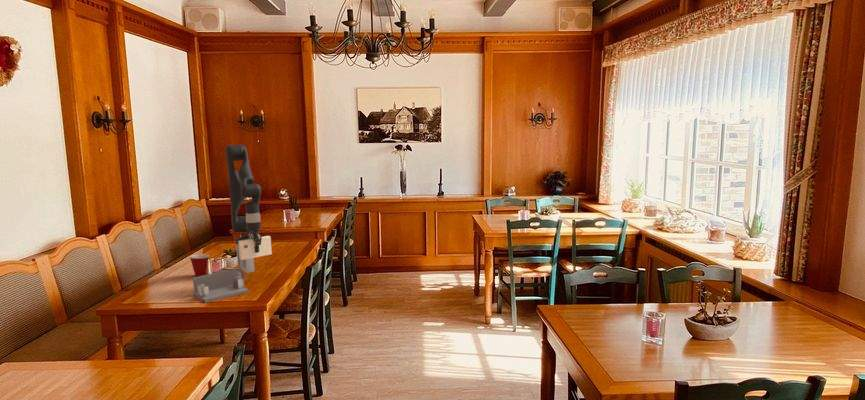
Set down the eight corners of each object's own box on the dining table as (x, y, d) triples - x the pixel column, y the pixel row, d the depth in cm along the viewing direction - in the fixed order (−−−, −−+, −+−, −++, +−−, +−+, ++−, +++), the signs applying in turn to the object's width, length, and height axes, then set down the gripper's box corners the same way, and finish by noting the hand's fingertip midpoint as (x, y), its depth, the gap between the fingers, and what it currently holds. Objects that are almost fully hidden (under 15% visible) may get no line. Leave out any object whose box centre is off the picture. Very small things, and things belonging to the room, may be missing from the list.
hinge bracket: (194, 295, 268) (192, 277, 266) (236, 286, 282) (235, 268, 281) (205, 302, 256) (203, 283, 254) (249, 292, 270) (247, 274, 269)
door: (239, 259, 282) (238, 240, 280) (269, 253, 293) (268, 235, 291) (242, 260, 279) (241, 242, 277) (272, 254, 290) (271, 236, 288)
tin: (246, 281, 290) (245, 266, 289) (243, 283, 287) (242, 268, 286) (220, 281, 292) (219, 266, 291) (217, 283, 289) (216, 268, 287)
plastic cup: (214, 274, 306) (212, 254, 304) (195, 279, 298) (194, 258, 296) (206, 271, 313) (204, 252, 311) (188, 275, 305) (186, 255, 303)
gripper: (265, 221, 281) (267, 252, 283) (254, 218, 291) (256, 248, 293) (252, 223, 276) (254, 255, 278) (241, 220, 286) (243, 251, 288)
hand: (255, 251), depth 286 cm, fingers closed on door, 3 cm apart
